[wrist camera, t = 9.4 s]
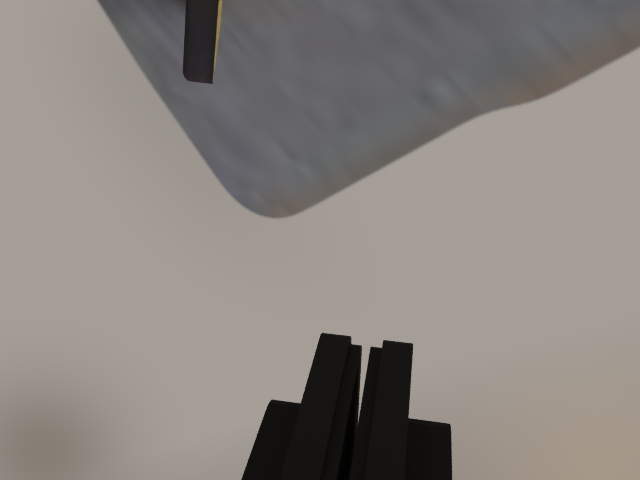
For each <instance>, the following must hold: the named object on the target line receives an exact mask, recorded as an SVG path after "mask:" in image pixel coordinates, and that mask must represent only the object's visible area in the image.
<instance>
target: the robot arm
mask: <svg viewBox="0 0 640 480" xmlns="http://www.w3.org/2000/svg"><path fill="white" fill-rule="evenodd" d="M361 353H362V346H361V345H352V344H351V337H350V336H344V335H335V334H327V333H322V334H321V336H320V339H319V342H318V345H317V349H316V352H315V356H314V359H313V363H312V367H311V370H310V374H309V377H308V380H307V384H306V387H305V391H304V394H303V398H302V401H301V404H300V403H293V402H285V401H278V400H271V401H270V402H269V404H268V406H267V409H266V411H265V414H264V417H263V420H262V423H261V426H260V428H259V431H258V434H257V437H256V440H255V443H254V446H253V449H252V451H251V454H250V457H249V460H248V463H247V466H246V468H245V471H244V474H243V477H242V480H452V456H451V453H452V452H451V426H450V424H447V423H440V422H432V421H425V420H417V419H410V418H408V414H409V400H410V385H411V369H412V354H413V344H412V343H403V342H395V341H387V340H386V341H385V340H384V341H383V346H382V348H377V347H371V348H370V354H369V361H368V367H367V373H366V379H365V385H364V391H363V397H362V403H361V410H360V416H359V422H358V409H359V391H360V373H361V355H362V354H361Z"/></svg>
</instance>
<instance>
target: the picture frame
mask: <svg viewBox="0 0 640 480" xmlns="http://www.w3.org/2000/svg"><path fill="white" fill-rule="evenodd" d="M221 13H222V0H186V16H185V37H184V59H183V74H184V77H185V78H186V79H187V80H189V81H193V82H201V83H209V84H213V78H214V71H215V63H216V55H217V47H218V39H219V31H220V24H221Z"/></svg>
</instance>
